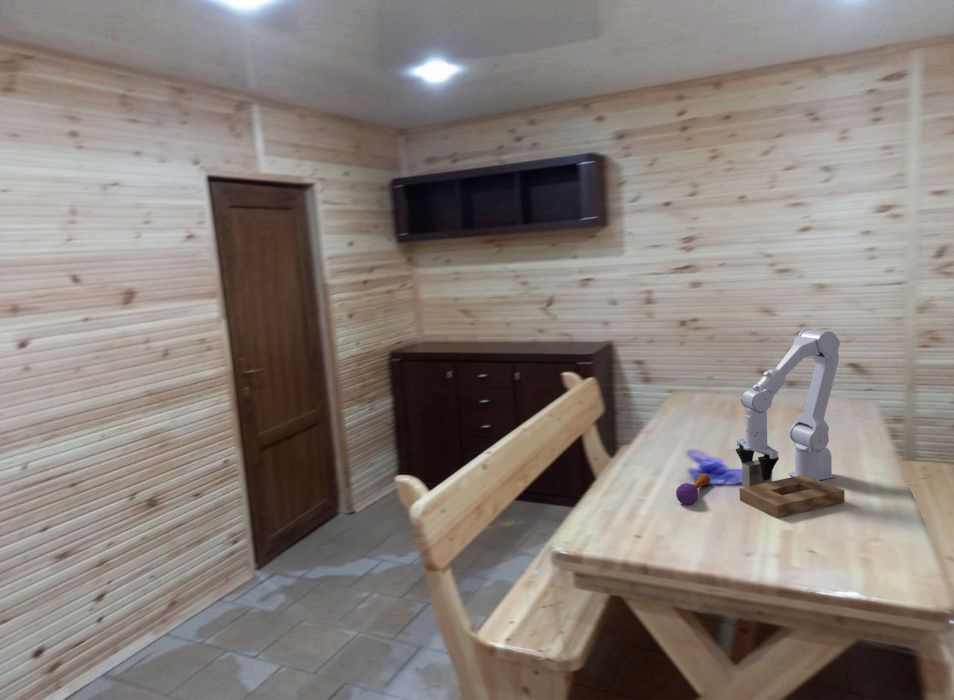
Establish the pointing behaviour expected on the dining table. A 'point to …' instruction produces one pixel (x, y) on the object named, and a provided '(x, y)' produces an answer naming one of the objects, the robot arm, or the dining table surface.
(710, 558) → the dining table surface
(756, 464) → the tall grey cuboid
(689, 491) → the purple and brown maraca
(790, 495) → the well
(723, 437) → the dining table surface
